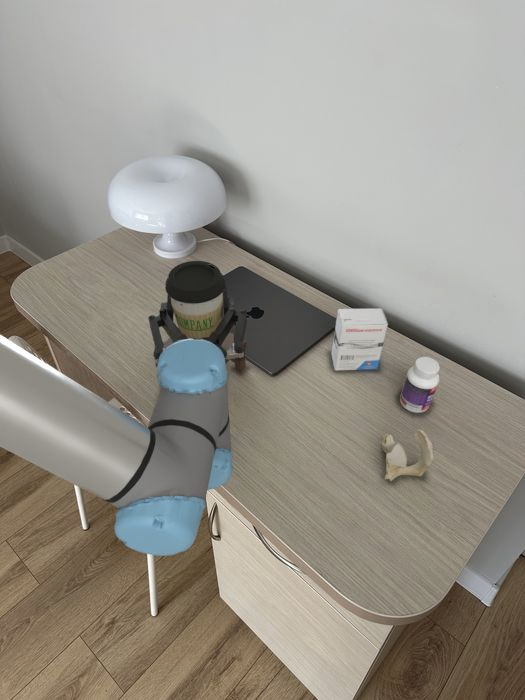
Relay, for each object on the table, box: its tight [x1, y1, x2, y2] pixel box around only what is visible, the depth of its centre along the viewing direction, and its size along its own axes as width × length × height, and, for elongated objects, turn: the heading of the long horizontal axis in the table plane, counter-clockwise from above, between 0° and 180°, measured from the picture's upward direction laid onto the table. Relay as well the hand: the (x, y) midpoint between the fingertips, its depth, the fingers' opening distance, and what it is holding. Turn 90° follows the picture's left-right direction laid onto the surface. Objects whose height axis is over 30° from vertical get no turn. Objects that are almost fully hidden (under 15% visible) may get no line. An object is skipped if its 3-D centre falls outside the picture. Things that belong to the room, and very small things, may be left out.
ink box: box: [331, 308, 389, 371], centre depth 92 cm, size 8×5×12 cm, turn 93°
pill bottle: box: [399, 356, 440, 414], centre depth 86 cm, size 5×5×10 cm
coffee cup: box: [164, 260, 227, 339], centre depth 84 cm, size 10×10×15 cm
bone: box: [380, 428, 435, 482], centre depth 76 cm, size 9×6×10 cm
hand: (197, 291), depth 87 cm, fingers closed on coffee cup, 9 cm apart
